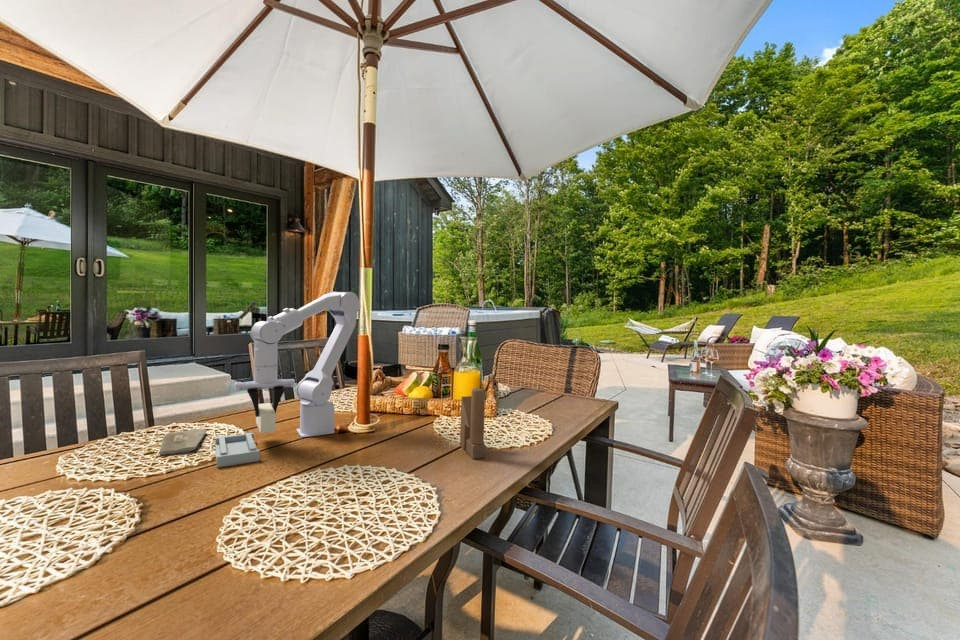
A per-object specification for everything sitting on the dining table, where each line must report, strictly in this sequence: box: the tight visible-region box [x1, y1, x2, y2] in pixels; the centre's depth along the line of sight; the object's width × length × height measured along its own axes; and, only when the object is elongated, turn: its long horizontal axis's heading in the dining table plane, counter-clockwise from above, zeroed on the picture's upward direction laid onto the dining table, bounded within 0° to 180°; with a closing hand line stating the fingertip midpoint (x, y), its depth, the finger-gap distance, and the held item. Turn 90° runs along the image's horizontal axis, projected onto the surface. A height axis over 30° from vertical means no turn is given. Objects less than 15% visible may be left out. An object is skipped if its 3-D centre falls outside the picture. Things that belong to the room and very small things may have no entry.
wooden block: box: [459, 387, 487, 460], centre depth 117 cm, size 4×11×18 cm, turn 21°
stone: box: [159, 428, 207, 456], centre depth 116 cm, size 18×3×10 cm
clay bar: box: [255, 402, 277, 434], centre depth 117 cm, size 12×4×5 cm, turn 33°
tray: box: [214, 432, 261, 468], centre depth 110 cm, size 9×16×3 cm, turn 33°
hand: (265, 414), depth 117 cm, fingers closed on clay bar, 3 cm apart
